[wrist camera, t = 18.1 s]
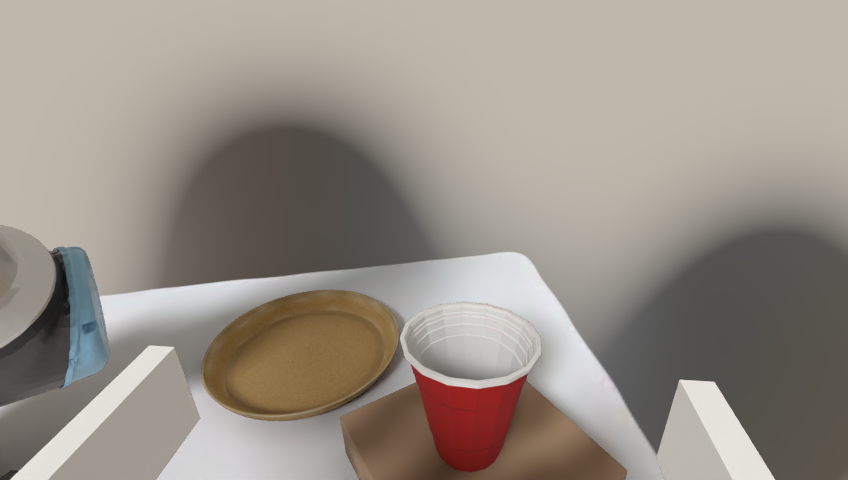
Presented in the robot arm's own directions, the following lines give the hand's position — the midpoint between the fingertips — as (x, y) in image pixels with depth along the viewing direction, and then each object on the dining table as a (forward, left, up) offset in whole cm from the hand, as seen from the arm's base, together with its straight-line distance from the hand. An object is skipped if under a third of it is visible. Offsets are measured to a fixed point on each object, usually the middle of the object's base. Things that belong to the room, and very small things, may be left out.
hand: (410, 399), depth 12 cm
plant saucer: (-39, +5, -30) cm, 49 cm away
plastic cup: (-14, +12, -25) cm, 31 cm away
